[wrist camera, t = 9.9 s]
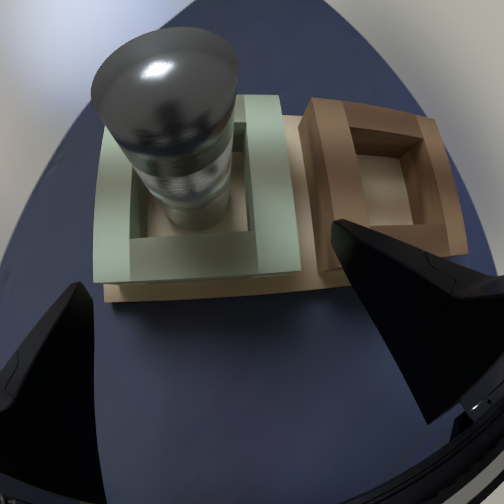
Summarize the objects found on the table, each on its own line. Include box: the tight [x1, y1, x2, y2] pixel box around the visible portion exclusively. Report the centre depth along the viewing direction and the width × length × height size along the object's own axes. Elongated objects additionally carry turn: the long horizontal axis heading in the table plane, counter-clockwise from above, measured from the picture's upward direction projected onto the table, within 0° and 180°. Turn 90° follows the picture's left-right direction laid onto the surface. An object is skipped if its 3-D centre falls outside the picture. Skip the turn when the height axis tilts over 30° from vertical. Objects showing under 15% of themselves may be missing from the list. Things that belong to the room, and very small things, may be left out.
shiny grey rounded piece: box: [91, 27, 239, 231], centre depth 11 cm, size 4×4×11 cm
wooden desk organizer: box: [93, 95, 468, 302], centre depth 16 cm, size 12×24×4 cm, turn 94°
